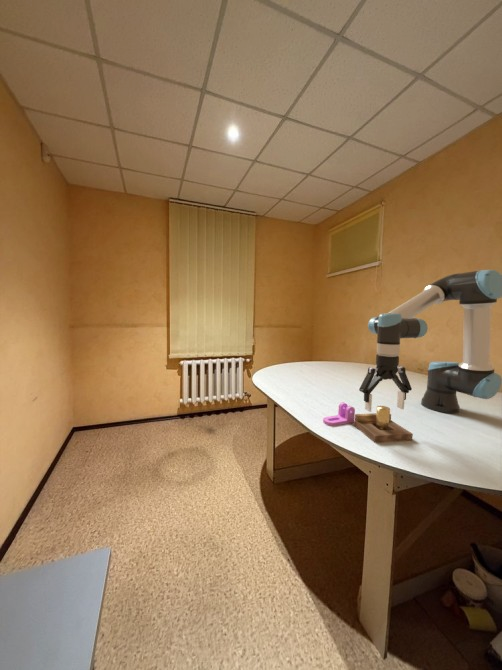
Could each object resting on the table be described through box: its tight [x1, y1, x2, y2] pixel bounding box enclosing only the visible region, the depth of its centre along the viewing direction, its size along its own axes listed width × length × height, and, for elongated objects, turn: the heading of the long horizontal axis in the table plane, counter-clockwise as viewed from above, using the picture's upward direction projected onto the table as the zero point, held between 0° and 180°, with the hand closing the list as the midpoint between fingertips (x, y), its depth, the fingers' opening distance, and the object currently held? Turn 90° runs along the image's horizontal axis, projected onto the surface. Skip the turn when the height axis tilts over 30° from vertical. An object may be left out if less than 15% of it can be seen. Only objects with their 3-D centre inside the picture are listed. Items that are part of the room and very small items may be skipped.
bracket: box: [322, 402, 356, 427], centre depth 104 cm, size 13×6×7 cm, turn 111°
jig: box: [353, 412, 414, 443], centre depth 95 cm, size 15×13×5 cm
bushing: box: [376, 405, 391, 430], centre depth 95 cm, size 4×4×10 cm
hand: (384, 409), depth 94 cm, fingers open, 13 cm apart
